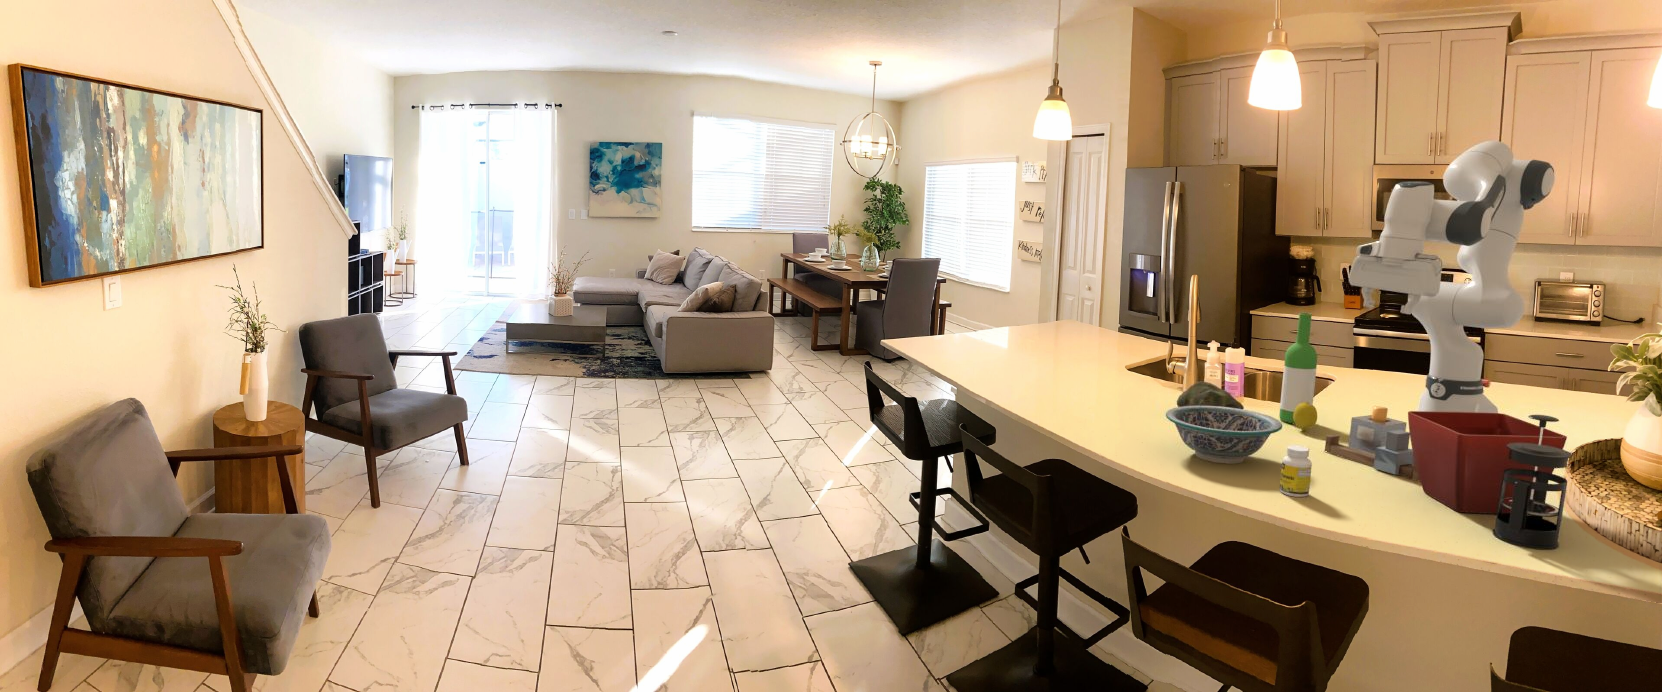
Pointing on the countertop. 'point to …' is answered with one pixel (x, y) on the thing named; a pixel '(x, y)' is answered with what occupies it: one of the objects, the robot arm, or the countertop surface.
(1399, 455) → the carriage
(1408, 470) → the rail
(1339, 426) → the countertop surface
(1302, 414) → the lemon
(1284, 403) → the wine bottle
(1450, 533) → the countertop surface
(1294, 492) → the supplement bottle
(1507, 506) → the french press
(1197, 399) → the decorative rock
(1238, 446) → the bowl
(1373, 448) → the grey cube with hole
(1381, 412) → the gauge button
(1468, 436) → the plant pot
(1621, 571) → the countertop surface
